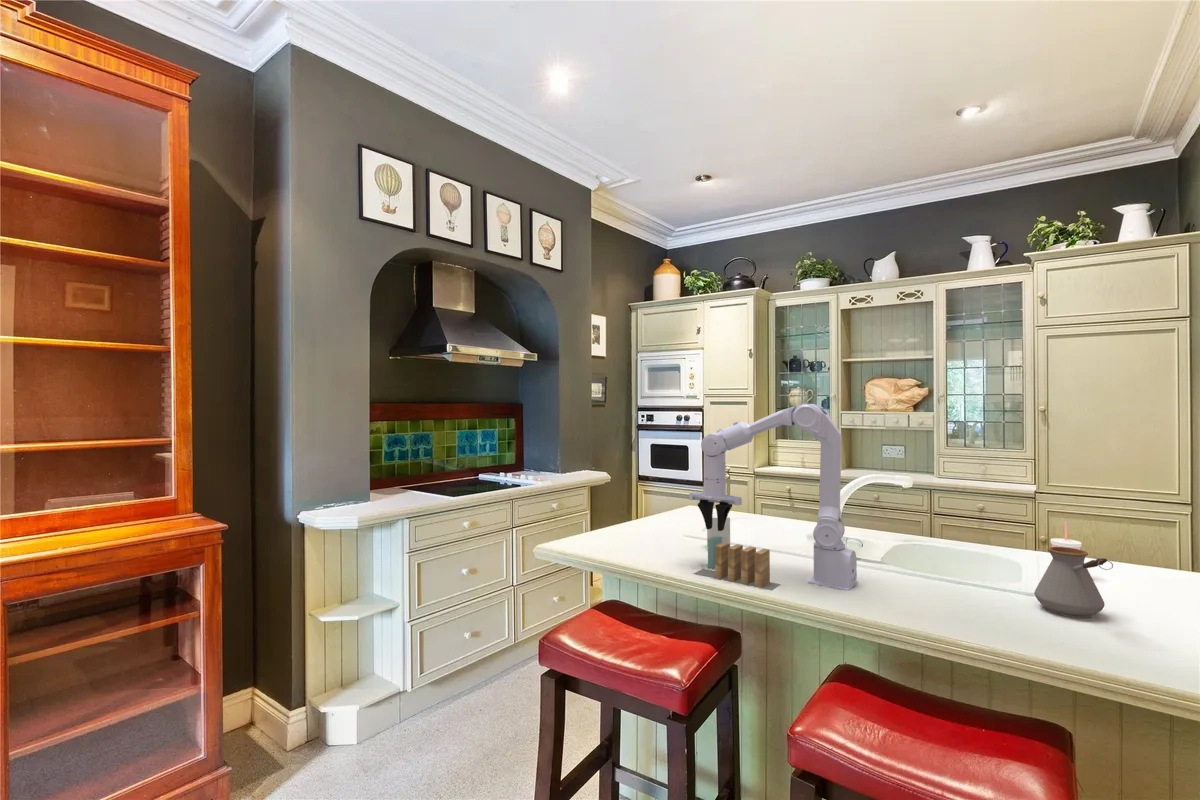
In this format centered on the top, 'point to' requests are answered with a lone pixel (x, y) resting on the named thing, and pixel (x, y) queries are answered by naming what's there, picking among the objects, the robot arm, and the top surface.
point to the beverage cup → (1066, 541)
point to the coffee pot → (1070, 584)
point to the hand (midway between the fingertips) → (714, 529)
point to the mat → (712, 575)
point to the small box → (714, 531)
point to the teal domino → (712, 550)
